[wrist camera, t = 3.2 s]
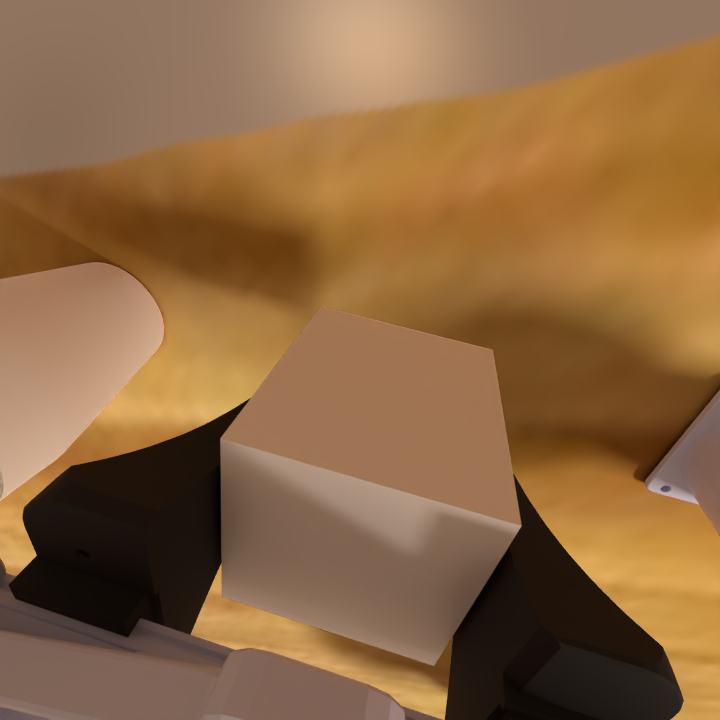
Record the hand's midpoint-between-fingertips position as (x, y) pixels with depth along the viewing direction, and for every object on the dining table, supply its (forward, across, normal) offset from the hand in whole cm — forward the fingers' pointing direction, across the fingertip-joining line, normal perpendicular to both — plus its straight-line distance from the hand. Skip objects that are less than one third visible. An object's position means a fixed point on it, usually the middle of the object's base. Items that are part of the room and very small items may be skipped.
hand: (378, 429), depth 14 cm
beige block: (+2, 0, 0) cm, 2 cm away
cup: (+10, +18, +5) cm, 21 cm away
